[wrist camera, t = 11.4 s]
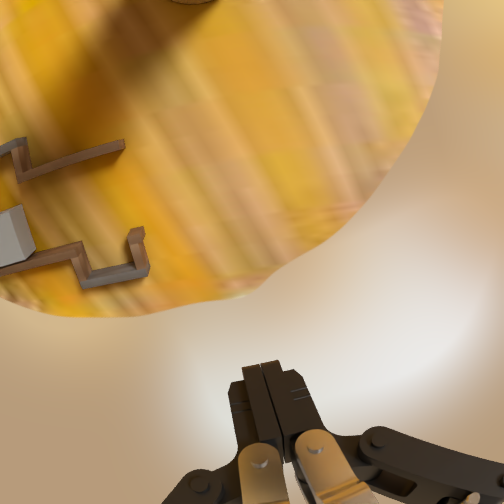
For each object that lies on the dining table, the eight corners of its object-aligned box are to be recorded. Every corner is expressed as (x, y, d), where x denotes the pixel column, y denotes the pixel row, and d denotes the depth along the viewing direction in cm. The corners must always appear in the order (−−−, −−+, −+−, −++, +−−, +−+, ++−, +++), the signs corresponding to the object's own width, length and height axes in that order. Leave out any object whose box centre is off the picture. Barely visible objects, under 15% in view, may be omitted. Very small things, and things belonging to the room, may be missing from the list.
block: (-9, 215, 28) (-23, 224, 25) (22, 203, 29) (8, 211, 25) (6, 257, 30) (-7, 268, 27) (37, 248, 31) (25, 259, 28)
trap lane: (-28, 164, 24) (-39, 167, 22) (117, 103, 27) (111, 102, 25) (15, 294, 32) (7, 304, 30) (154, 265, 35) (152, 275, 33)
